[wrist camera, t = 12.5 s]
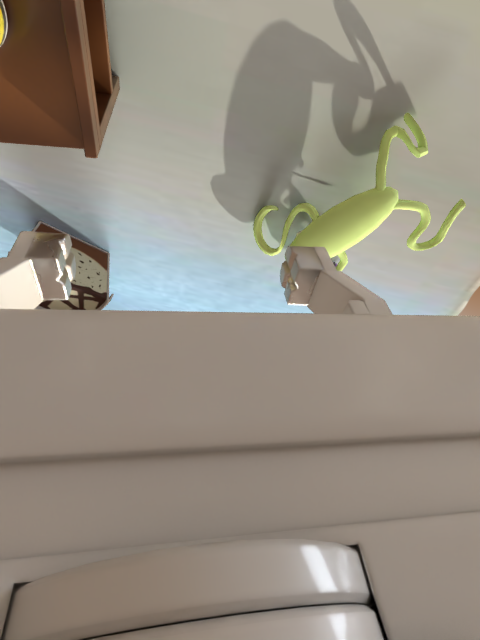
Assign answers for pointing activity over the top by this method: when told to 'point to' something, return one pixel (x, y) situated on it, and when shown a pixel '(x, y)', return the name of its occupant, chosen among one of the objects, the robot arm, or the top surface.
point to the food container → (82, 276)
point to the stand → (56, 74)
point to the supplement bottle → (3, 23)
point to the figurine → (361, 210)
